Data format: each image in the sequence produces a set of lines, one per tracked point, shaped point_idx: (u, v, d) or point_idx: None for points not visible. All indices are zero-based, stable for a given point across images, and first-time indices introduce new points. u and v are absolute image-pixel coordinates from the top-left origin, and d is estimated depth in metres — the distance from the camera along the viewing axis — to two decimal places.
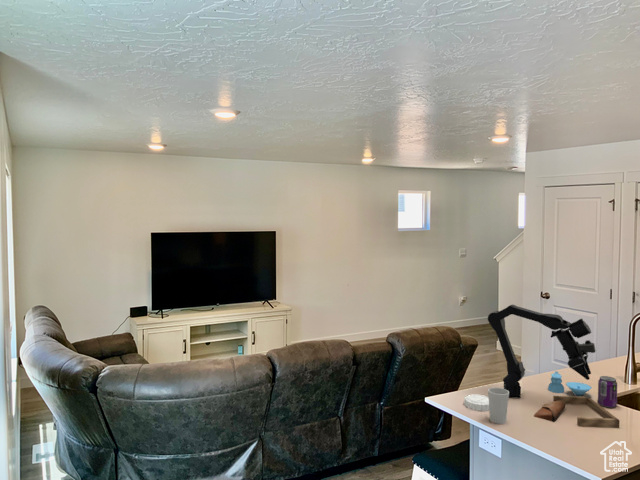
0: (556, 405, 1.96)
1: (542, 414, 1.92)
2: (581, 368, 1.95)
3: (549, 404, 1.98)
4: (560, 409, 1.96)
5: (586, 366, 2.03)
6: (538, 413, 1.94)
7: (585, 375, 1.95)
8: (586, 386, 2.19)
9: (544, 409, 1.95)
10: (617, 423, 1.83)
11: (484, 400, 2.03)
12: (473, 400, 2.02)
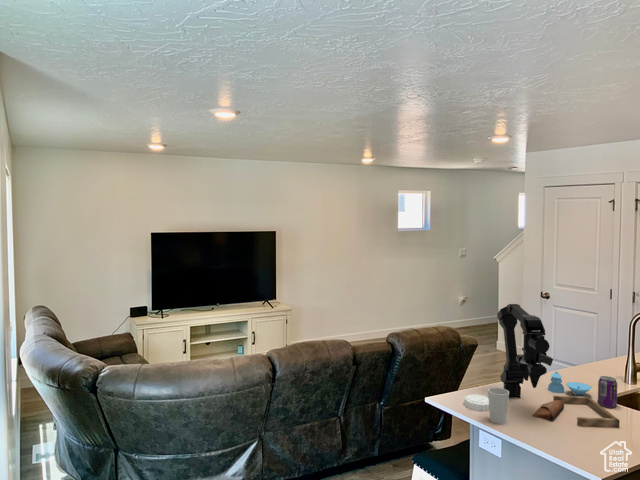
0: (555, 405, 1.97)
1: (541, 414, 1.92)
2: (536, 376, 1.92)
3: (548, 404, 1.99)
4: (559, 409, 1.96)
5: (527, 372, 2.02)
6: (537, 413, 1.94)
7: (535, 383, 1.92)
8: (586, 386, 2.19)
9: (543, 409, 1.96)
10: (617, 423, 1.83)
11: (484, 400, 2.03)
12: (473, 400, 2.02)
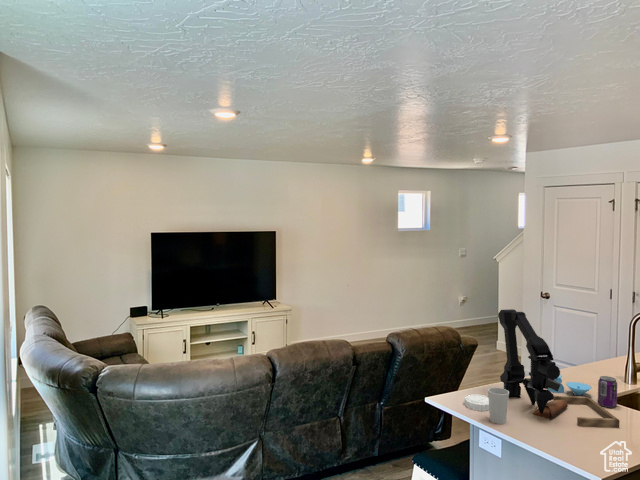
0: (556, 404, 1.97)
1: None
2: (542, 401, 1.92)
3: (550, 403, 2.00)
4: (560, 408, 1.97)
5: (534, 397, 2.02)
6: (537, 411, 1.96)
7: (541, 409, 1.92)
8: (586, 386, 2.19)
9: None
10: (617, 423, 1.83)
11: (484, 400, 2.03)
12: (473, 400, 2.02)
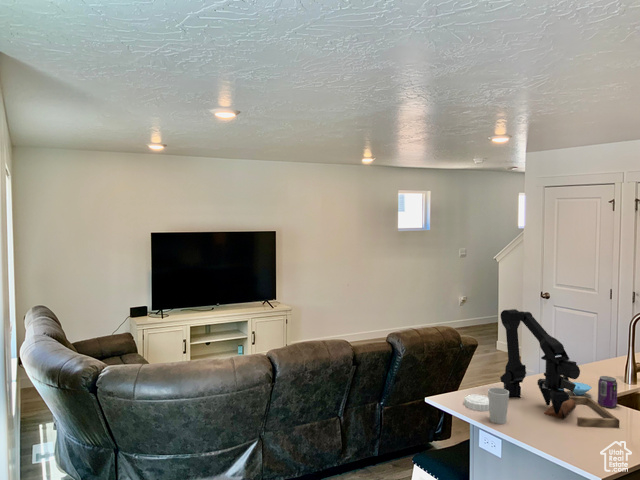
0: (566, 403, 1.98)
1: (552, 412, 1.94)
2: (558, 402, 1.91)
3: None
4: (570, 407, 1.98)
5: (549, 397, 2.01)
6: (548, 411, 1.96)
7: (557, 409, 1.92)
8: (586, 386, 2.19)
9: None
10: (617, 423, 1.83)
11: (484, 400, 2.03)
12: (473, 400, 2.02)
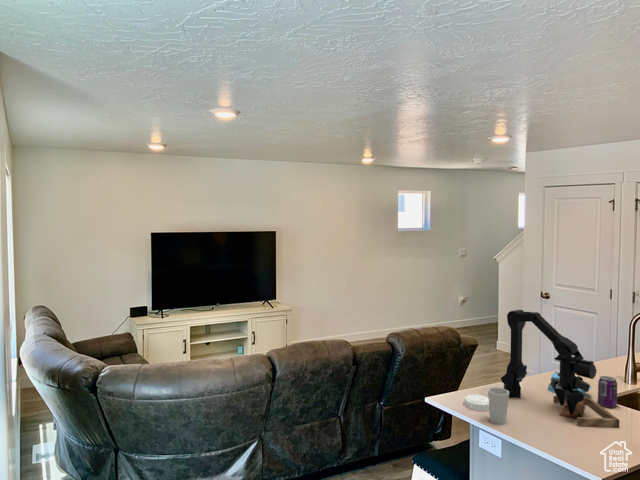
0: (579, 404, 1.98)
1: (567, 413, 1.93)
2: (573, 402, 1.91)
3: None
4: (583, 407, 1.98)
5: (563, 397, 2.01)
6: (563, 412, 1.95)
7: (571, 409, 1.91)
8: None
9: None
10: (617, 423, 1.83)
11: (484, 400, 2.03)
12: (473, 400, 2.02)
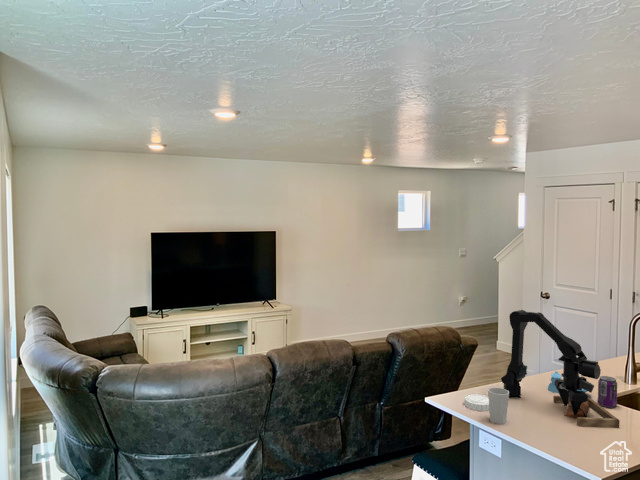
0: (583, 404, 1.98)
1: None
2: (577, 403, 1.90)
3: None
4: (587, 407, 1.98)
5: (566, 398, 2.01)
6: (568, 412, 1.95)
7: (575, 410, 1.91)
8: None
9: None
10: (617, 423, 1.83)
11: (484, 400, 2.03)
12: (473, 400, 2.02)
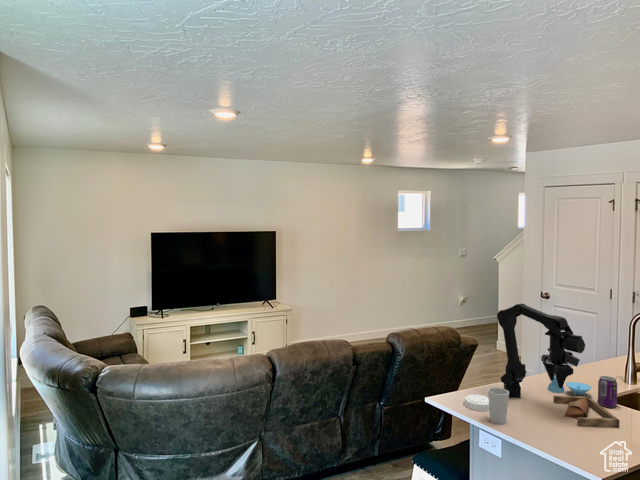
0: (583, 404, 1.98)
1: (573, 413, 1.93)
2: (562, 376, 1.92)
3: (576, 403, 2.00)
4: (587, 407, 1.98)
5: (553, 372, 2.02)
6: (568, 412, 1.95)
7: (561, 383, 1.93)
8: (586, 386, 2.19)
9: (573, 408, 1.97)
10: (617, 423, 1.83)
11: (484, 400, 2.03)
12: (473, 400, 2.02)
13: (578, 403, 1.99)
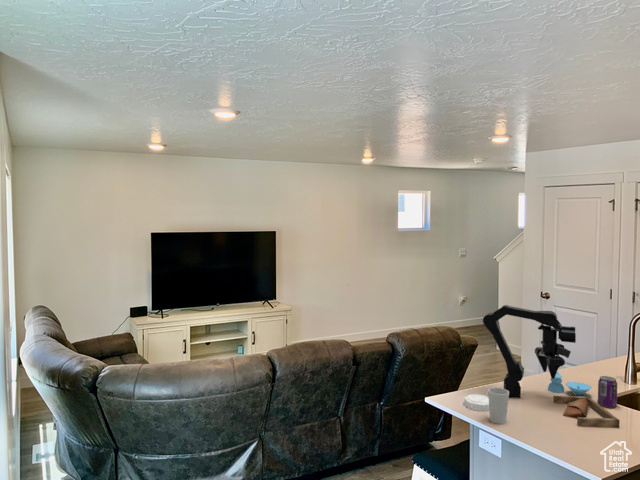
0: (582, 404, 1.98)
1: (571, 413, 1.93)
2: (554, 367, 2.04)
3: (575, 403, 2.00)
4: (586, 407, 1.98)
5: (545, 364, 2.14)
6: (567, 412, 1.95)
7: (553, 374, 2.04)
8: (586, 386, 2.19)
9: (572, 408, 1.97)
10: (617, 423, 1.83)
11: (484, 400, 2.03)
12: (473, 400, 2.02)
13: (577, 403, 1.99)
